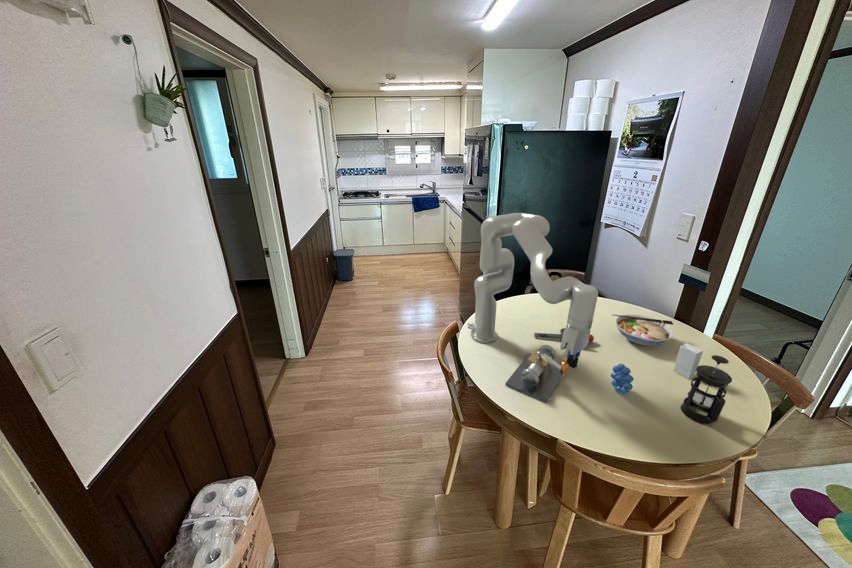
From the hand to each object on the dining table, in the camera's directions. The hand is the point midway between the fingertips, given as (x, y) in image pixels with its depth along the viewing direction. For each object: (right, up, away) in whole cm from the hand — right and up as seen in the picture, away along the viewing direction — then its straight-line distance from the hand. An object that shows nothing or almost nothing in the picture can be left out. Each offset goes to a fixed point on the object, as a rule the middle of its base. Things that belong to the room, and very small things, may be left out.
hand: (571, 365), depth 118 cm
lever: (-5, -1, +5) cm, 7 cm away
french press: (+41, -16, -5) cm, 44 cm away
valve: (+13, +3, +40) cm, 42 cm away
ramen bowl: (+48, +3, +36) cm, 60 cm away
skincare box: (+51, -7, +15) cm, 53 cm away
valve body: (-7, -8, +14) cm, 18 cm away
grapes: (+21, -11, +6) cm, 24 cm away
